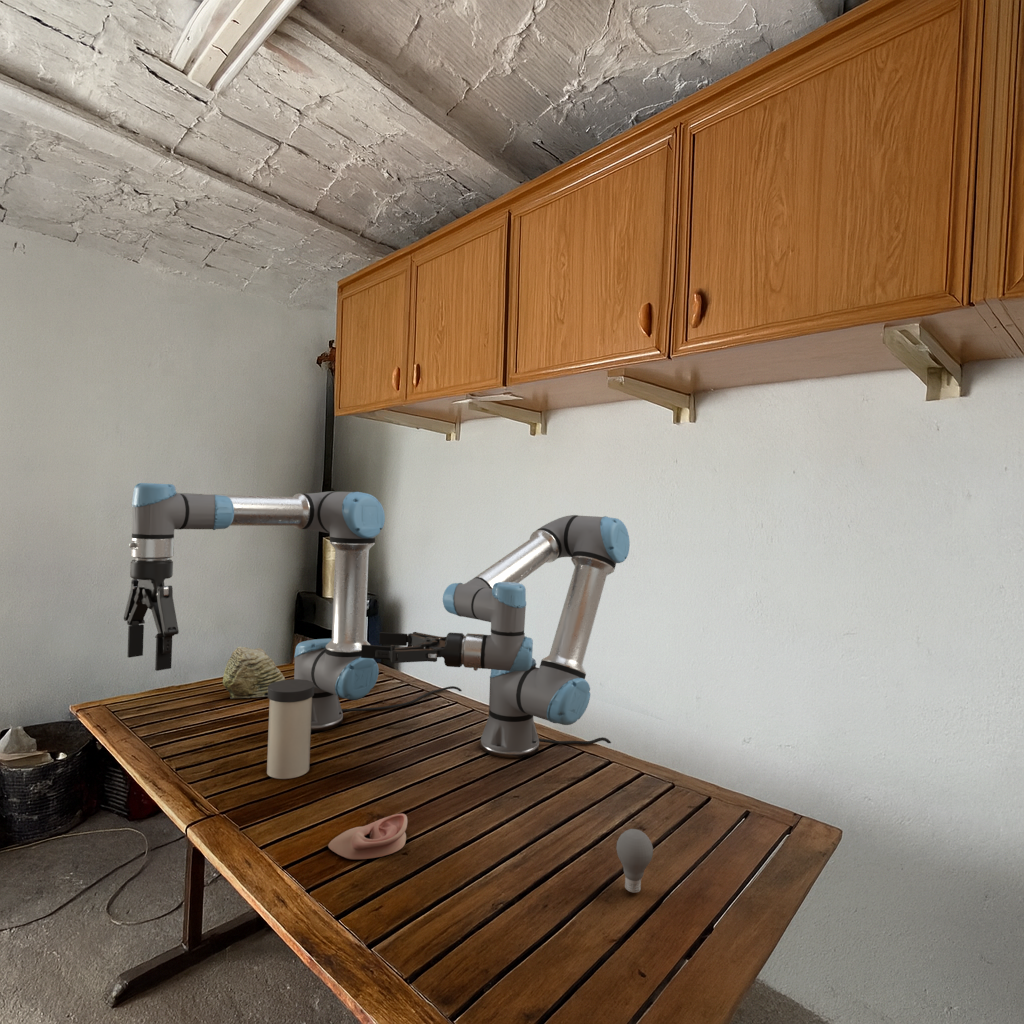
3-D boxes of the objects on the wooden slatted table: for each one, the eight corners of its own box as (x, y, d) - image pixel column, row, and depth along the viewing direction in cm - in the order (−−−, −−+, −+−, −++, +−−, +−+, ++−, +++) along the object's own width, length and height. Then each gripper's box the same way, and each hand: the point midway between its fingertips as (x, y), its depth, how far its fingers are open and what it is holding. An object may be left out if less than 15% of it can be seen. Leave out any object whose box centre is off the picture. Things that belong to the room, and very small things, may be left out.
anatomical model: (320, 832, 112) (349, 802, 123) (319, 854, 112) (349, 822, 123) (391, 843, 109) (414, 812, 121) (390, 866, 109) (413, 832, 121)
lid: (263, 691, 147) (263, 682, 147) (307, 686, 153) (308, 677, 152) (272, 704, 139) (273, 694, 139) (319, 698, 144) (319, 688, 144)
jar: (262, 766, 147) (265, 684, 147) (303, 758, 152) (306, 679, 152) (271, 782, 139) (274, 695, 139) (314, 774, 144) (317, 690, 144)
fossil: (218, 695, 195) (220, 647, 195) (278, 685, 208) (279, 640, 207) (228, 703, 189) (230, 653, 188) (289, 692, 201) (290, 645, 201)
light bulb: (610, 879, 108) (613, 822, 108) (644, 879, 109) (647, 822, 109) (619, 902, 102) (622, 840, 102) (655, 901, 103) (658, 840, 103)
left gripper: (108, 554, 134) (104, 654, 134) (159, 565, 118) (155, 678, 119) (146, 552, 140) (143, 648, 140) (199, 563, 124) (195, 671, 124)
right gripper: (453, 682, 130) (352, 675, 131) (470, 654, 155) (385, 648, 156) (455, 646, 130) (354, 639, 131) (472, 623, 155) (387, 618, 156)
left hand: (148, 662), depth 129 cm, fingers open, 13 cm apart
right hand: (371, 644), depth 144 cm, fingers open, 13 cm apart
